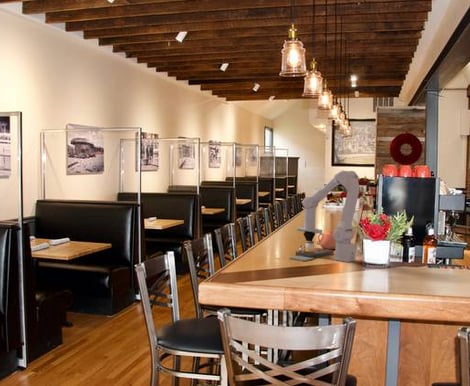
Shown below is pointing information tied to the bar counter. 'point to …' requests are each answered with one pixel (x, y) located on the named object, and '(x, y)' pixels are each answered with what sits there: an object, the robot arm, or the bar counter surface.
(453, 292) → the bar counter surface
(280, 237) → the bar counter surface
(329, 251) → the grey lever panel
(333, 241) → the sugar bowl
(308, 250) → the plug
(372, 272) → the bar counter surface
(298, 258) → the mat
